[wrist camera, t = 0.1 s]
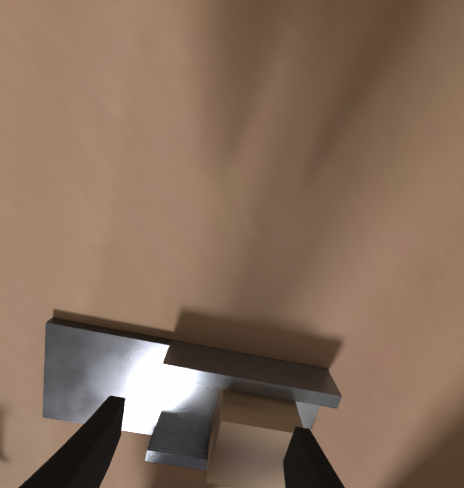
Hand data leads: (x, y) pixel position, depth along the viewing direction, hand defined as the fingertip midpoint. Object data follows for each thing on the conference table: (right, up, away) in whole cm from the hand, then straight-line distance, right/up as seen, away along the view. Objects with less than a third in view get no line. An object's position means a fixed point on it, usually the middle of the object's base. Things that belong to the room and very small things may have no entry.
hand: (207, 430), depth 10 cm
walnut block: (+3, -7, +11) cm, 14 cm away
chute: (-2, -6, +12) cm, 13 cm away
